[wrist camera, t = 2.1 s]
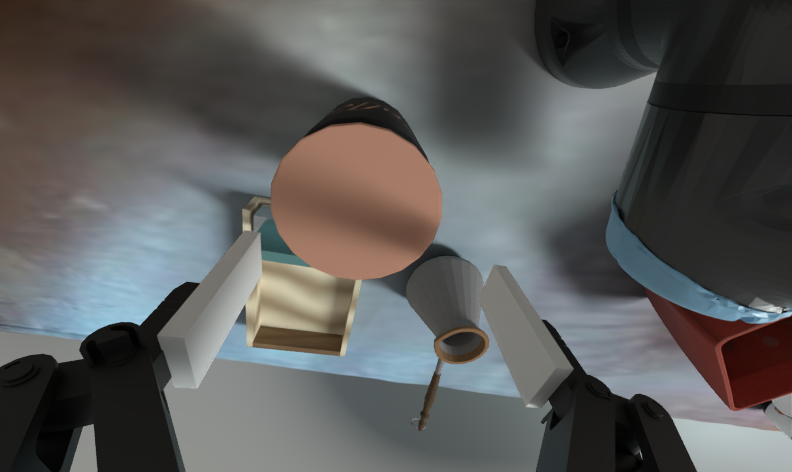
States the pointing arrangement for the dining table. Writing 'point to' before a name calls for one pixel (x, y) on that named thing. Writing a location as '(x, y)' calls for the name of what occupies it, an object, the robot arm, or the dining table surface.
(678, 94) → the robot arm
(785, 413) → the spread jar
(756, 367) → the plant pot
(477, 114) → the dining table surface
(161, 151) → the dining table surface
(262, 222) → the teal piece
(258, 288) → the channel
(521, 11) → the dining table surface
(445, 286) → the coffee pot
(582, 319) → the dining table surface
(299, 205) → the coffee jar
